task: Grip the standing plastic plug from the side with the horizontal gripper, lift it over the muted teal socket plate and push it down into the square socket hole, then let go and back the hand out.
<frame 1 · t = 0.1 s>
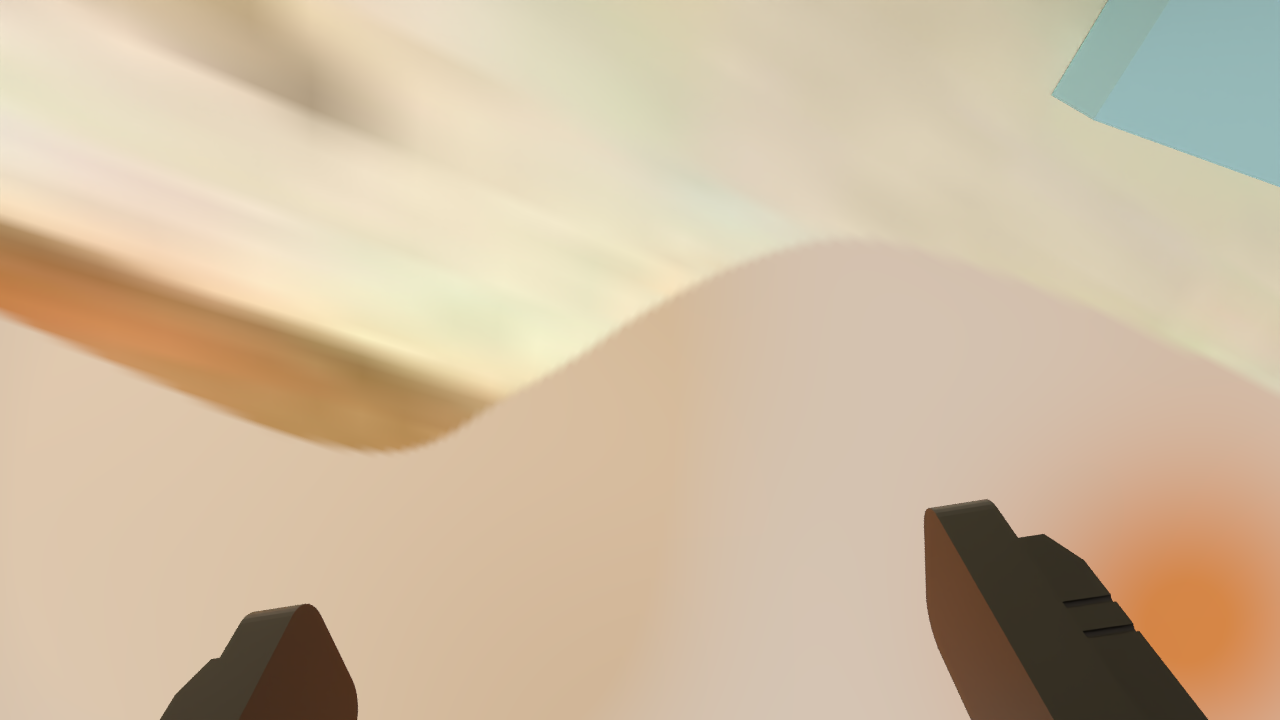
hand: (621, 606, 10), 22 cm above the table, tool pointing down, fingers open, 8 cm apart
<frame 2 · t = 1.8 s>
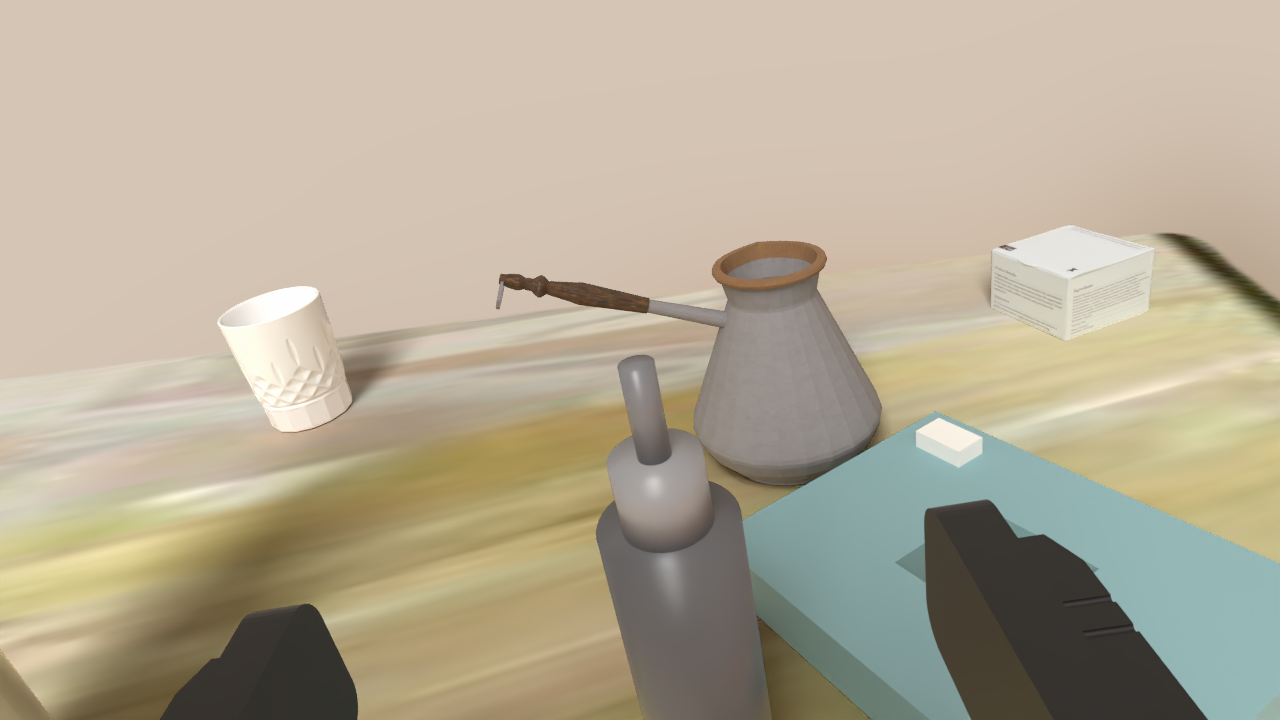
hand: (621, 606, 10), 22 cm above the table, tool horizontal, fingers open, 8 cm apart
socket plate: (991, 615, 36), on the table
coffee pot: (713, 465, 50), on the table
white cup: (314, 413, 68), on the table
small box: (1065, 313, 60), on the table
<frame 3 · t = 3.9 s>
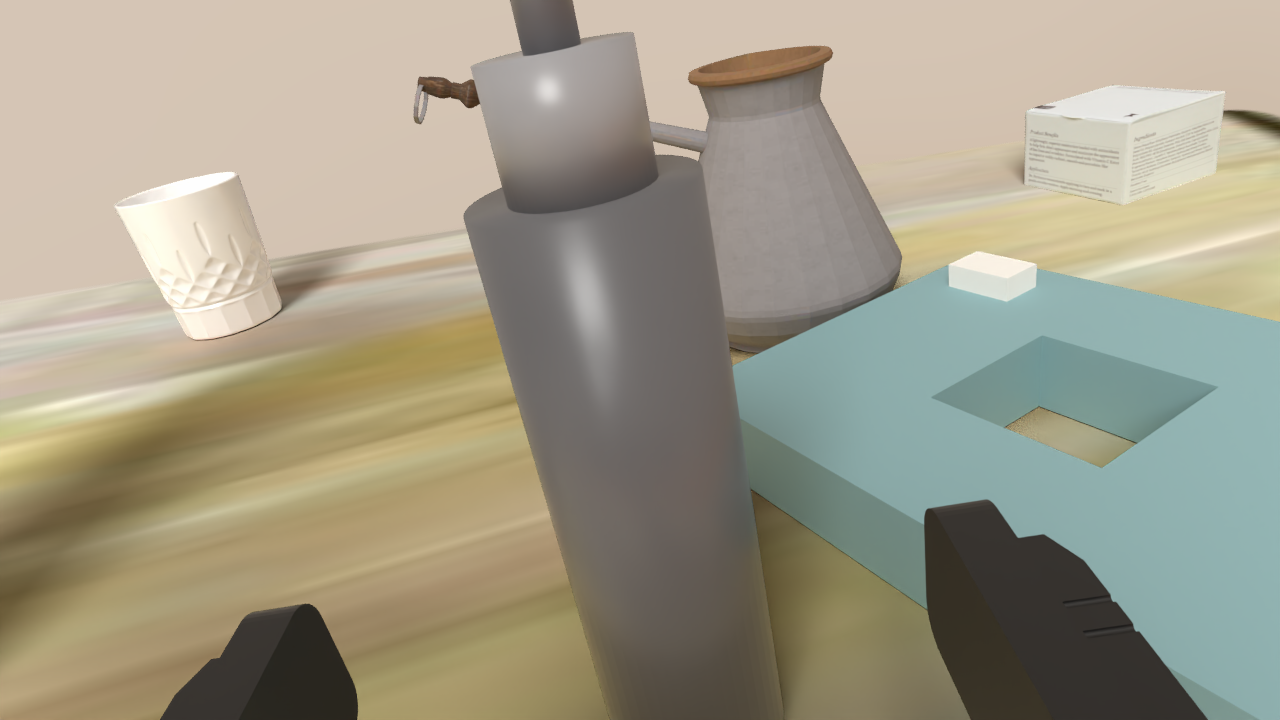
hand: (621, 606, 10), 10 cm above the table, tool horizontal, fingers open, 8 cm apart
socket plate: (1062, 469, 26), on the table
coffee pot: (694, 341, 41), on the table
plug: (698, 715, 20), on the table
white cup: (237, 323, 58), on the table
small box: (1114, 184, 51), on the table
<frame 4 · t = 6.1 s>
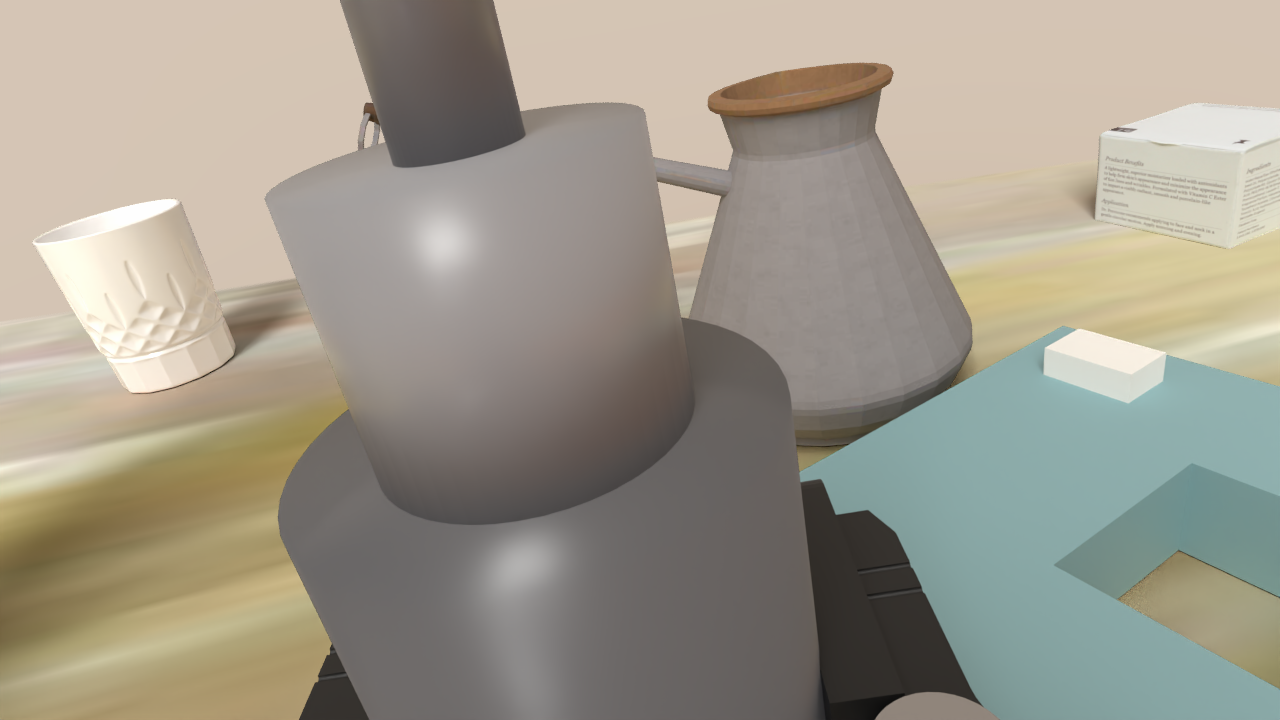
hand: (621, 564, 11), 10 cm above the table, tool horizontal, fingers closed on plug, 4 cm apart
socket plate: (1236, 665, 19), on the table
coffee pot: (711, 421, 34), on the table
white cup: (183, 371, 51), on the table
small box: (1204, 220, 43), on the table
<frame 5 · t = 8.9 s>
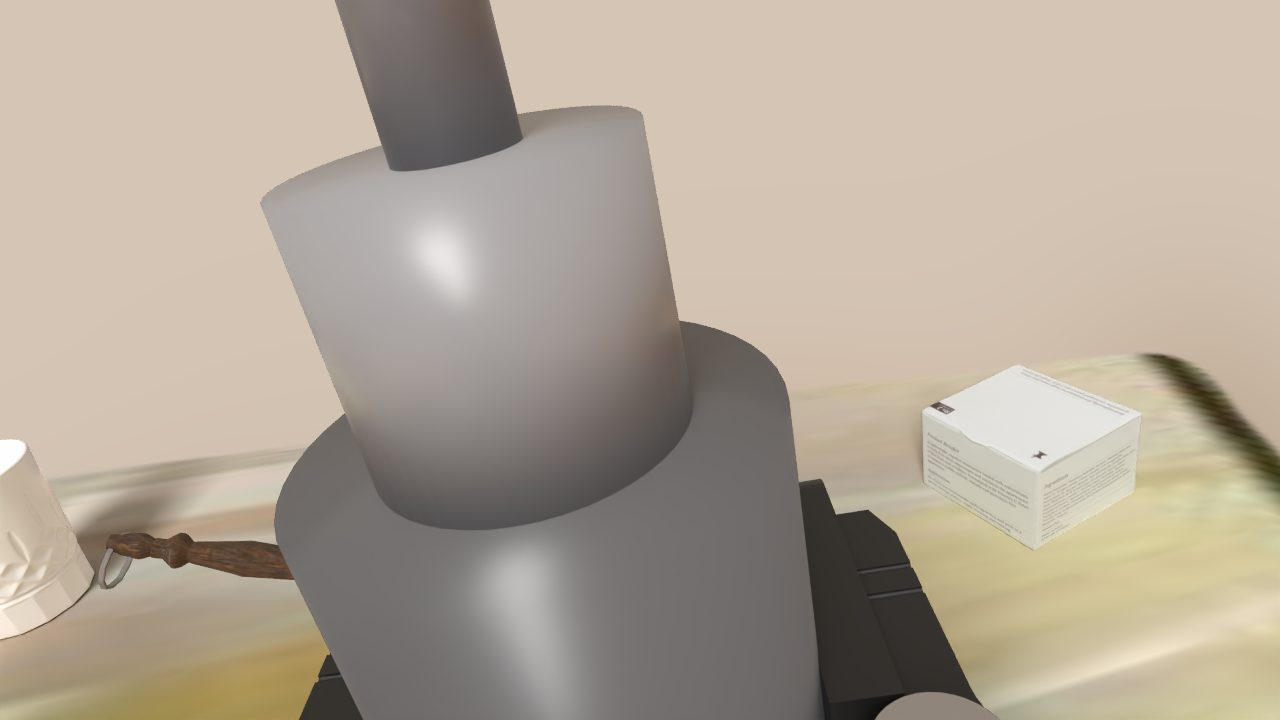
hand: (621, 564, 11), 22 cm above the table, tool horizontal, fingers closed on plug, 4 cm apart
white cup: (39, 603, 51), on the table
small box: (1023, 491, 44), on the table
when the fingers open (10 cm above the table, at t = 12.1 s): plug stays where it is, resting in socket plate.
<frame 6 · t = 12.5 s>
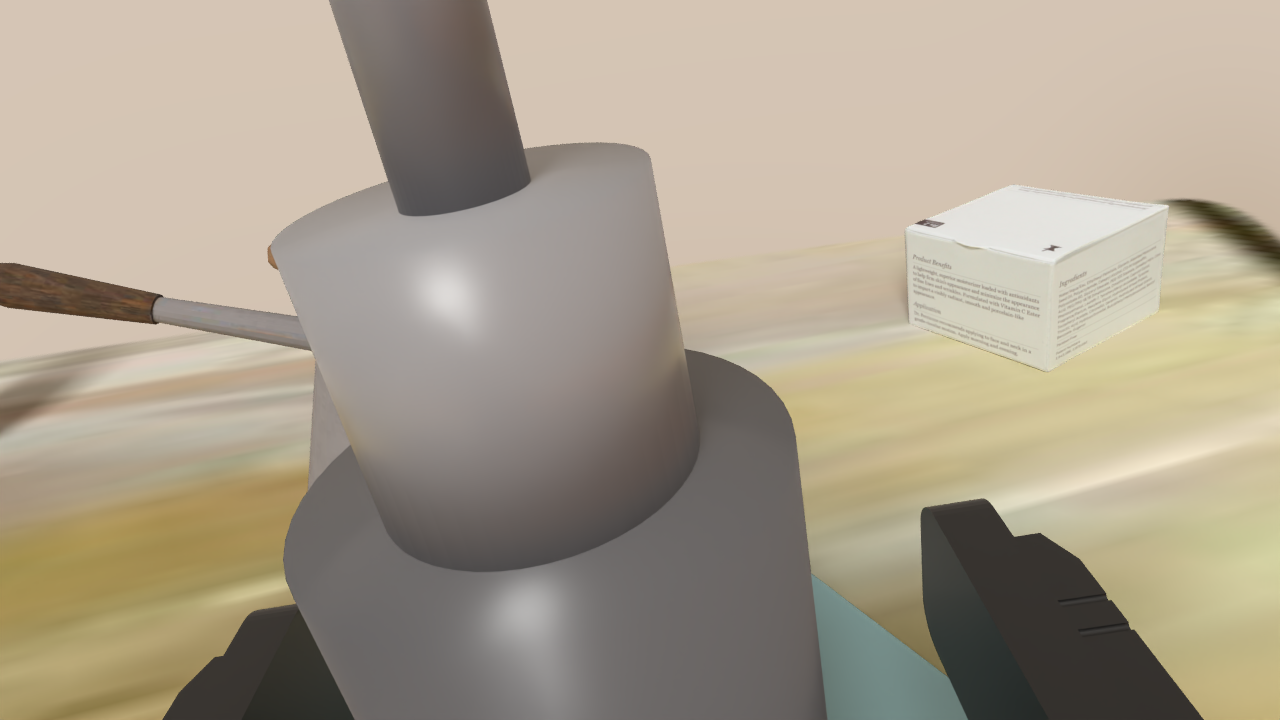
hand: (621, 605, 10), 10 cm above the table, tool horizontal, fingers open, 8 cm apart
coffee pot: (368, 598, 28), on the table
small box: (1026, 324, 37), on the table
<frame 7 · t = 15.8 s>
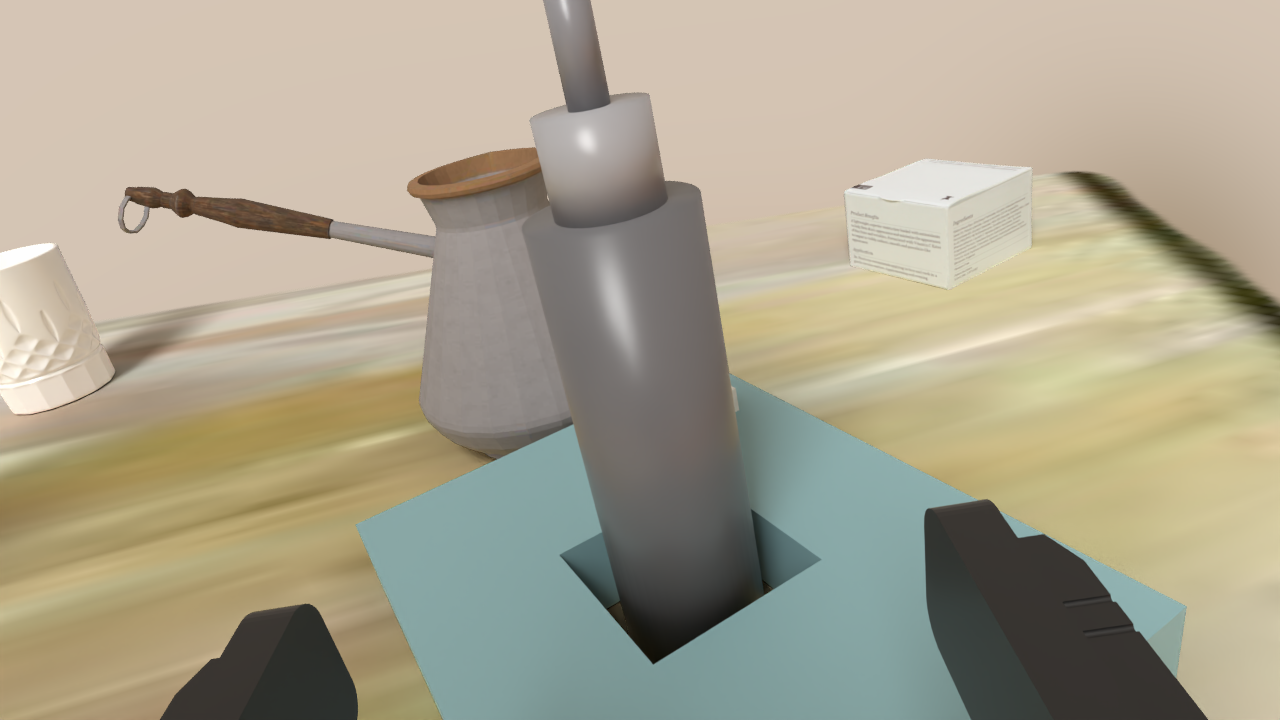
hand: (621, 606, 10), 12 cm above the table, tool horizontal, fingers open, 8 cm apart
socket plate: (699, 629, 25), on the table
coffee pot: (456, 440, 40), on the table
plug: (699, 631, 25), resting in socket plate
white cup: (66, 394, 57), on the table
small box: (937, 262, 49), on the table
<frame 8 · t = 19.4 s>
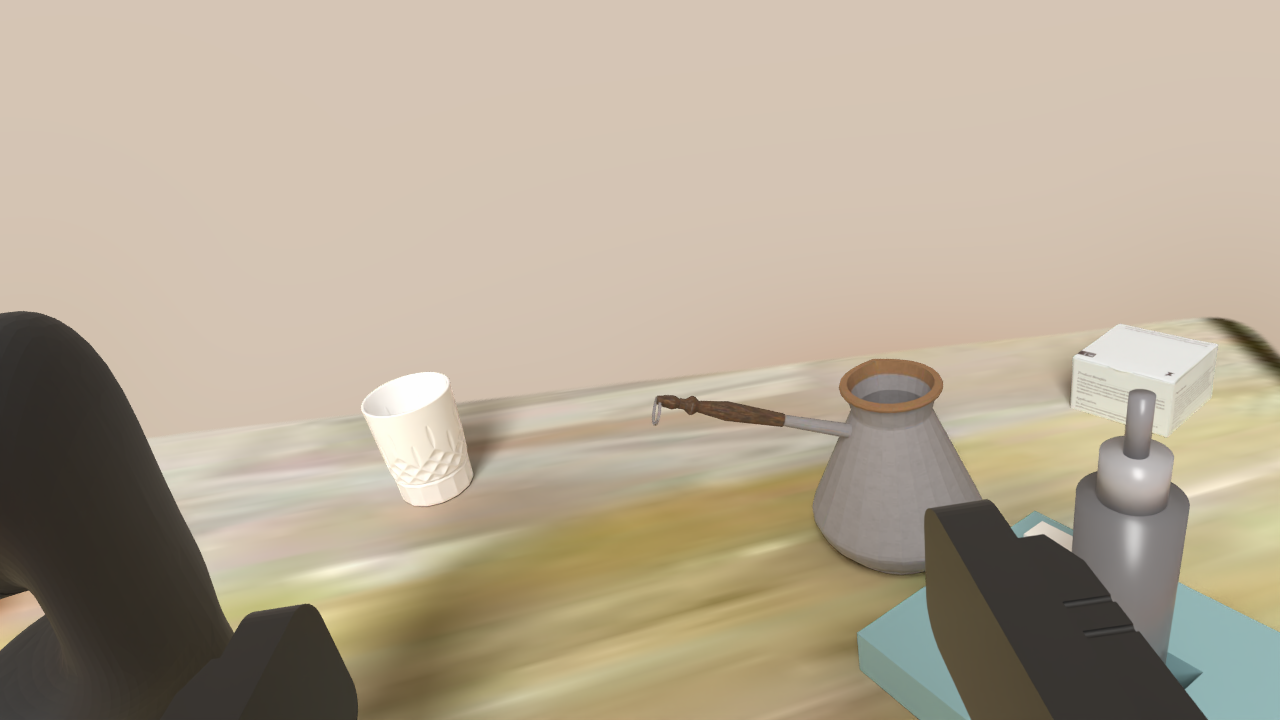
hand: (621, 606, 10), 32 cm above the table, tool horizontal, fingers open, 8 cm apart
socket plate: (1106, 706, 42), on the table
coffee pot: (829, 551, 57), on the table
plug: (1107, 708, 42), resting in socket plate
white cup: (439, 486, 74), on the table
small box: (1138, 406, 66), on the table
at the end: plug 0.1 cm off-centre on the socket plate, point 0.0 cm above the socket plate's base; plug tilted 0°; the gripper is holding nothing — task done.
